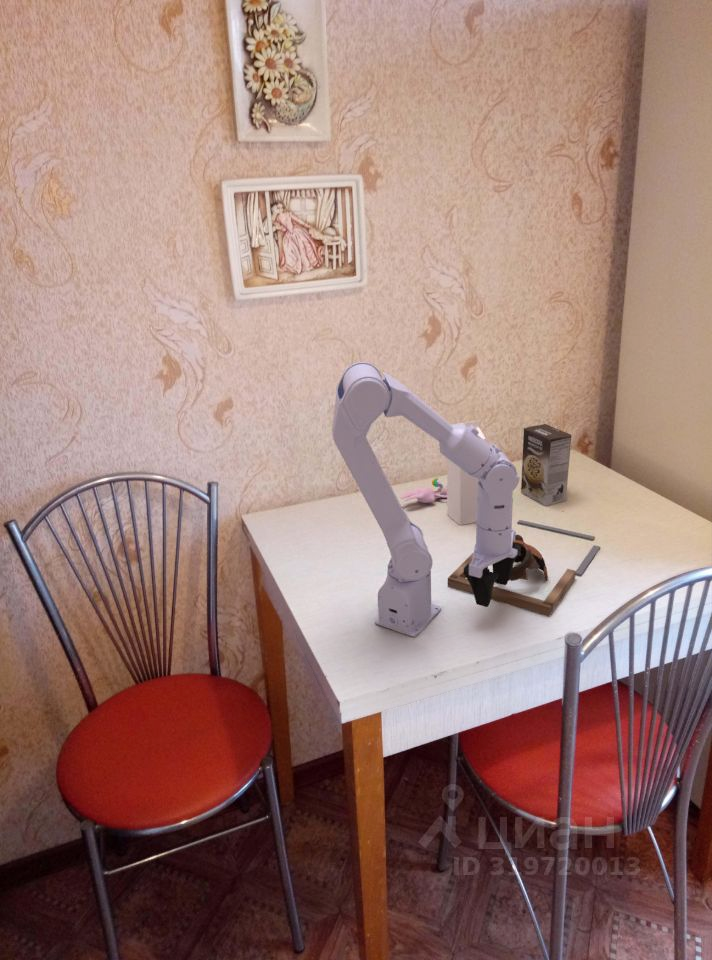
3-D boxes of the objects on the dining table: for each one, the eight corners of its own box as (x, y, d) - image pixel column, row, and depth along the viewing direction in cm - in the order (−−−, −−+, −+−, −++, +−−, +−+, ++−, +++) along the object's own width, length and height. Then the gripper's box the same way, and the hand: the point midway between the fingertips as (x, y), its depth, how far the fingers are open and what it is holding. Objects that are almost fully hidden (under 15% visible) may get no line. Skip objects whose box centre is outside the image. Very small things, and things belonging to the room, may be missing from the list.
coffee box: (519, 492, 160) (522, 427, 153) (541, 486, 162) (545, 422, 156) (544, 507, 152) (548, 439, 146) (567, 500, 154) (572, 433, 148)
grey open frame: (580, 576, 125) (581, 574, 125) (479, 550, 136) (479, 548, 136) (605, 540, 137) (605, 538, 136) (510, 519, 147) (510, 517, 147)
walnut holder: (549, 616, 114) (549, 607, 113) (447, 586, 124) (447, 578, 124) (575, 579, 124) (575, 570, 123) (479, 554, 134) (479, 546, 134)
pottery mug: (556, 591, 122) (540, 563, 117) (507, 609, 125) (489, 582, 120) (543, 544, 131) (527, 517, 127) (497, 562, 134) (480, 535, 130)
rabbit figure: (445, 495, 164) (394, 501, 156) (448, 471, 162) (396, 477, 155) (461, 503, 159) (410, 511, 152) (465, 479, 157) (413, 486, 150)
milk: (446, 515, 151) (445, 420, 143) (471, 509, 153) (471, 415, 144) (460, 526, 146) (460, 428, 137) (485, 520, 148) (486, 423, 139)
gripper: (499, 547, 104) (496, 622, 109) (533, 510, 115) (530, 580, 120) (457, 537, 108) (456, 609, 113) (494, 502, 118) (492, 570, 124)
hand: (491, 593), depth 117 cm, fingers open, 7 cm apart
